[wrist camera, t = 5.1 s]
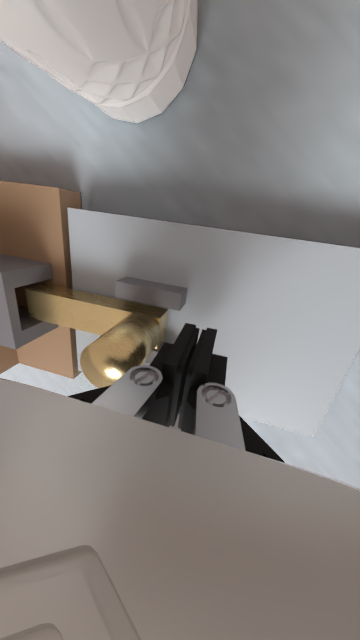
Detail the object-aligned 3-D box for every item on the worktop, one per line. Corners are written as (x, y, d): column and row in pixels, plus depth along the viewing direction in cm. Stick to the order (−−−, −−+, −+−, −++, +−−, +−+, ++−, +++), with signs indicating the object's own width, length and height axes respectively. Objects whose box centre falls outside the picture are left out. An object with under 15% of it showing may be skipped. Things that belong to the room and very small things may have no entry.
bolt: (171, 307, 14) (132, 351, 9) (167, 341, 15) (129, 397, 10) (44, 280, 16) (-50, 304, 11) (48, 312, 16) (-37, 348, 11)
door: (392, 231, 12) (631, 233, 5) (301, 425, 17) (344, 563, 10) (-11, 181, 16) (-208, 143, 9) (19, 346, 22) (-88, 404, 15)
